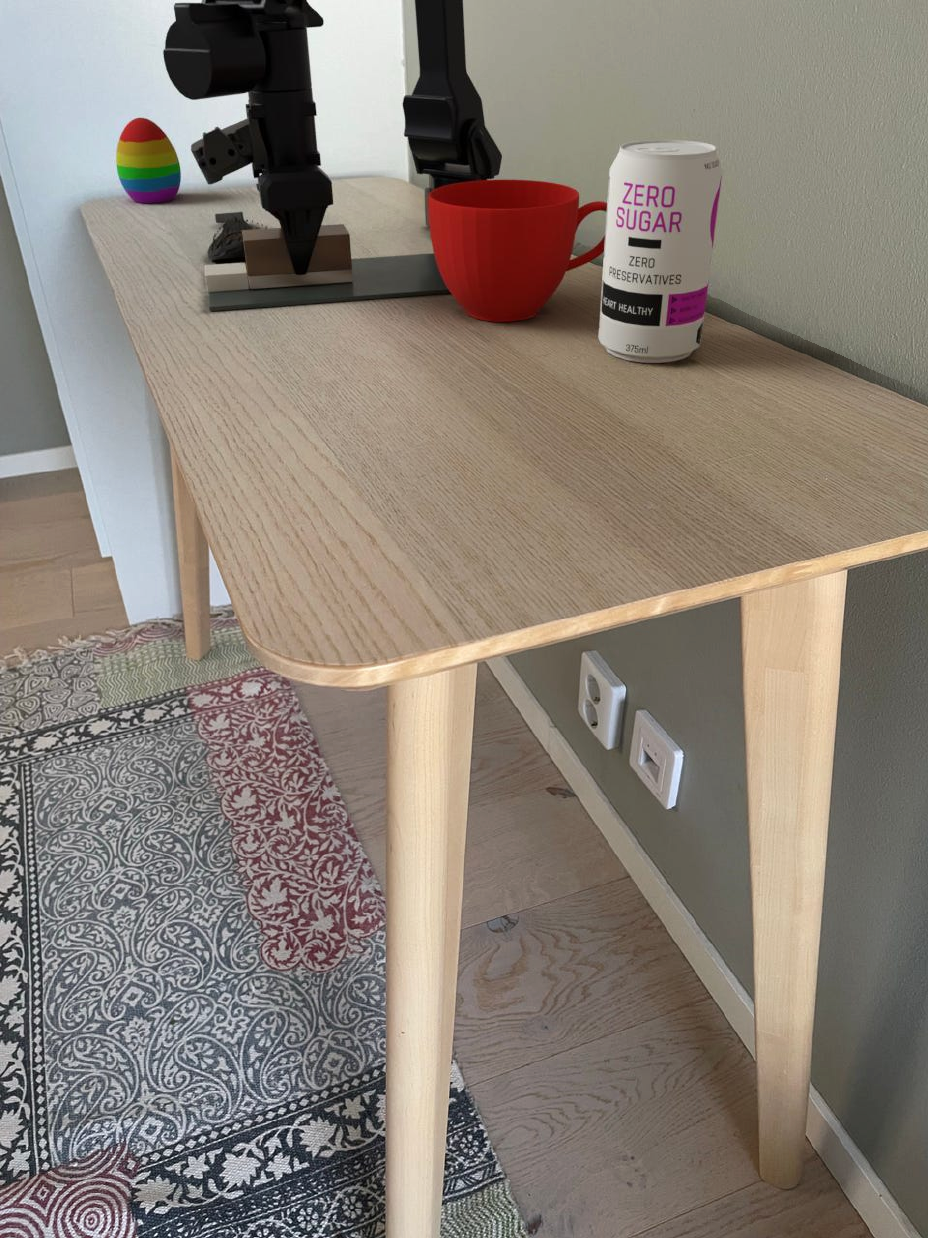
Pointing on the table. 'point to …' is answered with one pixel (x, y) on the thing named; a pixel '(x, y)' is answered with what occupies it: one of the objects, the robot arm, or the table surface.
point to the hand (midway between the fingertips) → (298, 268)
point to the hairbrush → (229, 237)
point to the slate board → (347, 285)
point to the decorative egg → (147, 163)
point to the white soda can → (658, 248)
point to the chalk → (226, 277)
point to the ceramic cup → (506, 243)
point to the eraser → (274, 263)
